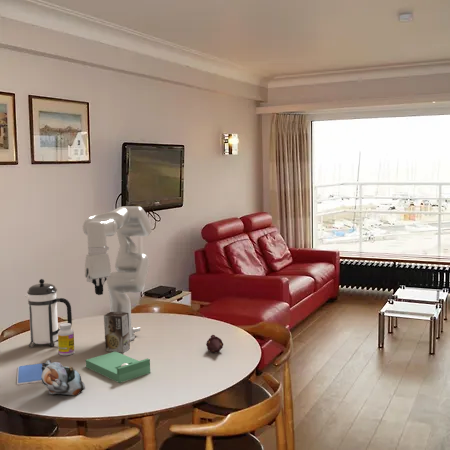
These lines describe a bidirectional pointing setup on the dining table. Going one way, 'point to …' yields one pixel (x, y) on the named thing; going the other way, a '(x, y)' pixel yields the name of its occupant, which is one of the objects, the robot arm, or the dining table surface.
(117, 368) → the green
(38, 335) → the coffee press
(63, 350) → the supplement bottle
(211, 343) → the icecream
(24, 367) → the tablet computer
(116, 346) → the coffee box
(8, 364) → the dining table surface
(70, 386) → the lucky cat figurine
